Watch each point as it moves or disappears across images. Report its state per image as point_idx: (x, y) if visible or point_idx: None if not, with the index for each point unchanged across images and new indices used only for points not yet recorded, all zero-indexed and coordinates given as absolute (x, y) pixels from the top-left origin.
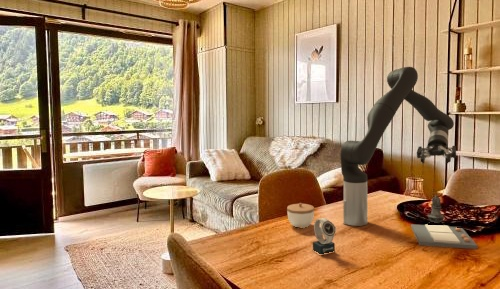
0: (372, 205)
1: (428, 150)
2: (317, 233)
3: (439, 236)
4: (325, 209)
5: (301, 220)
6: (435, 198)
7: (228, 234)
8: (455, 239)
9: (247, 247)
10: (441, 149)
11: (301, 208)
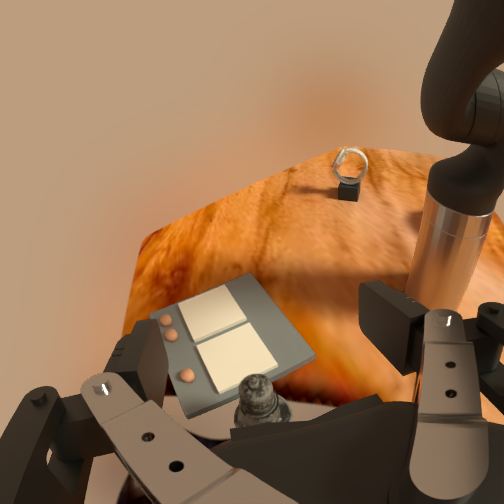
0: None
1: (423, 356)
2: (361, 172)
3: (219, 305)
4: None
5: None
6: (254, 374)
7: None
8: (186, 308)
9: (412, 169)
10: (207, 456)
11: None
